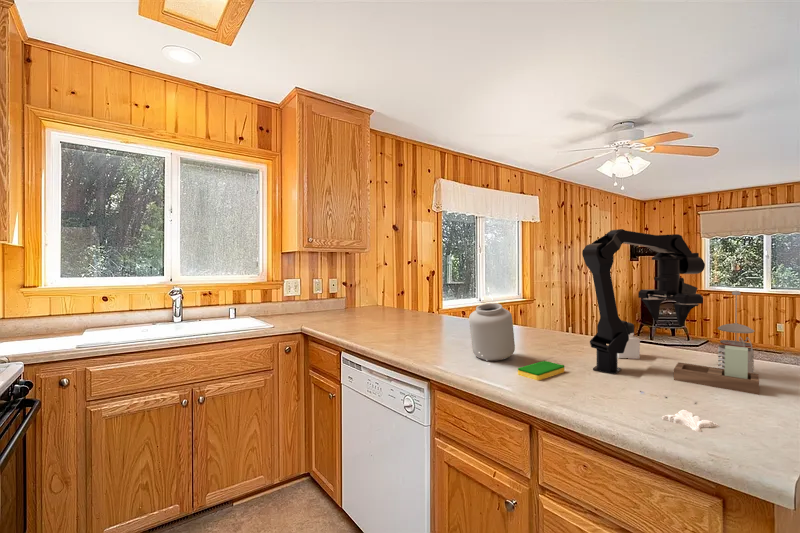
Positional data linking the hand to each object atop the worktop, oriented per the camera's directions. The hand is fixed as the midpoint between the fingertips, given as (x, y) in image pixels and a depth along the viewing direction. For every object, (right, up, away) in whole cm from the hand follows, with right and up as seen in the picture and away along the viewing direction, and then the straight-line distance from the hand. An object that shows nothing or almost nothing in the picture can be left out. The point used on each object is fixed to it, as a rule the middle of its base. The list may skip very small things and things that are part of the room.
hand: (668, 323), depth 119 cm
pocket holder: (-1, -14, -18) cm, 23 cm away
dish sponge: (-42, -15, -5) cm, 45 cm away
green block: (+3, -13, -21) cm, 25 cm away
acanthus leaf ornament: (-24, -16, -40) cm, 49 cm away
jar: (-54, -14, +12) cm, 57 cm away
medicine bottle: (-6, -14, +13) cm, 20 cm away
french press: (+12, -14, -11) cm, 22 cm away
